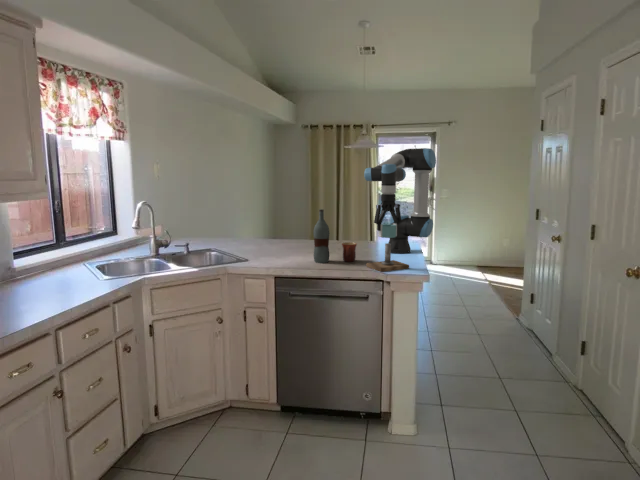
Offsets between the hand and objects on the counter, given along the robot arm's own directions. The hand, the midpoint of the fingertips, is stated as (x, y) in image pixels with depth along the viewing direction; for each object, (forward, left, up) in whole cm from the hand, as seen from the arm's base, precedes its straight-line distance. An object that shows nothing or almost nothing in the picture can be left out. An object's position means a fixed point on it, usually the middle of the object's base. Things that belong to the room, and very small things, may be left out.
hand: (387, 236), depth 242 cm
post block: (0, 0, -17) cm, 17 cm away
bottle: (+25, -30, -17) cm, 42 cm away
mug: (+11, -23, -17) cm, 31 cm away
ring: (0, 0, 0) cm, 0 cm away
